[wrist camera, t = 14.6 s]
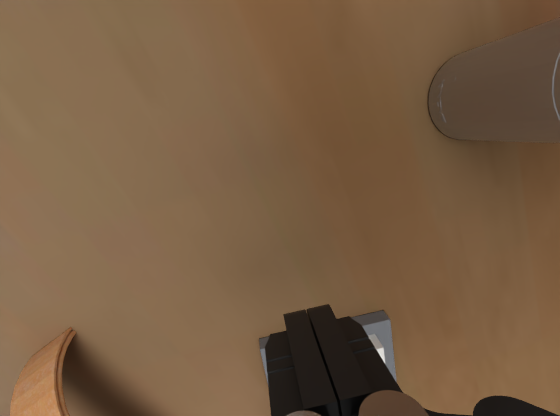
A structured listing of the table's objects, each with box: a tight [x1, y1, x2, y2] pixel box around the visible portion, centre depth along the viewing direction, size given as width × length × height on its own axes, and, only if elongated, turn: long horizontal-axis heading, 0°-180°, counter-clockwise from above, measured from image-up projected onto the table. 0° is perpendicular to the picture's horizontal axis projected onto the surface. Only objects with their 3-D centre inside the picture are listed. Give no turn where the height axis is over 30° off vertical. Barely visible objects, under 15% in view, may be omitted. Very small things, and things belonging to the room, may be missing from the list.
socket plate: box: [259, 310, 397, 387], centre depth 39 cm, size 16×16×4 cm
